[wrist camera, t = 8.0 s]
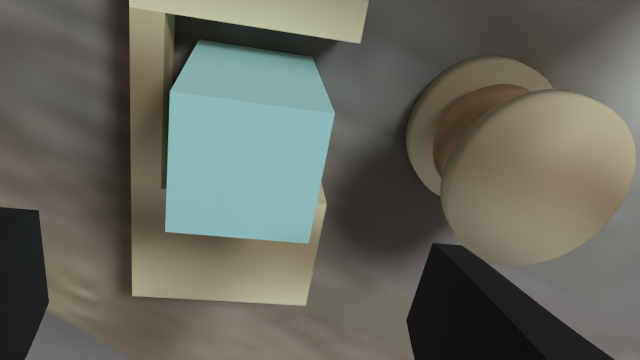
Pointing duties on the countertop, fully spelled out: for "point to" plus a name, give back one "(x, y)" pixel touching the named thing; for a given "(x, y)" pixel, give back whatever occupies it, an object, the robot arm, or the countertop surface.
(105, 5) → the countertop surface
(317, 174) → the pale teal block
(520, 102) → the spool
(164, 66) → the notch board
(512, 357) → the robot arm
